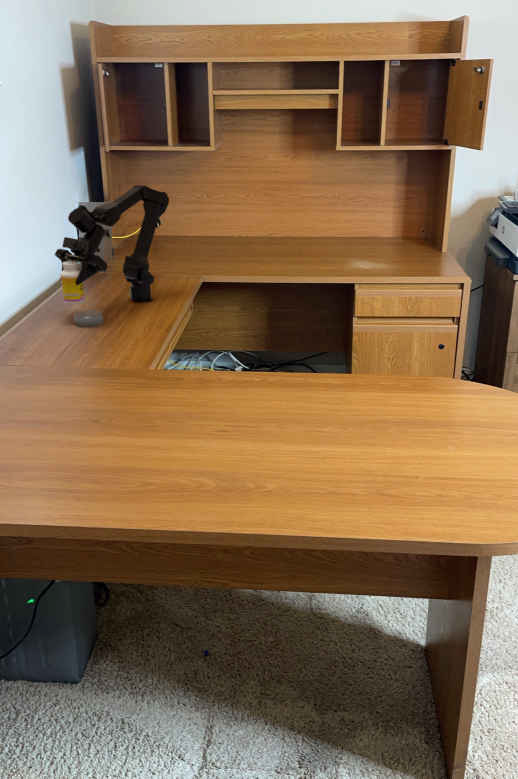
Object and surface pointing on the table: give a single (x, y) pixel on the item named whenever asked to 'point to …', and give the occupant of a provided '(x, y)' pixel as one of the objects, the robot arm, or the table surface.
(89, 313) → the puck
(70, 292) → the supplement bottle
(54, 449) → the table surface
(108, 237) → the robot arm
